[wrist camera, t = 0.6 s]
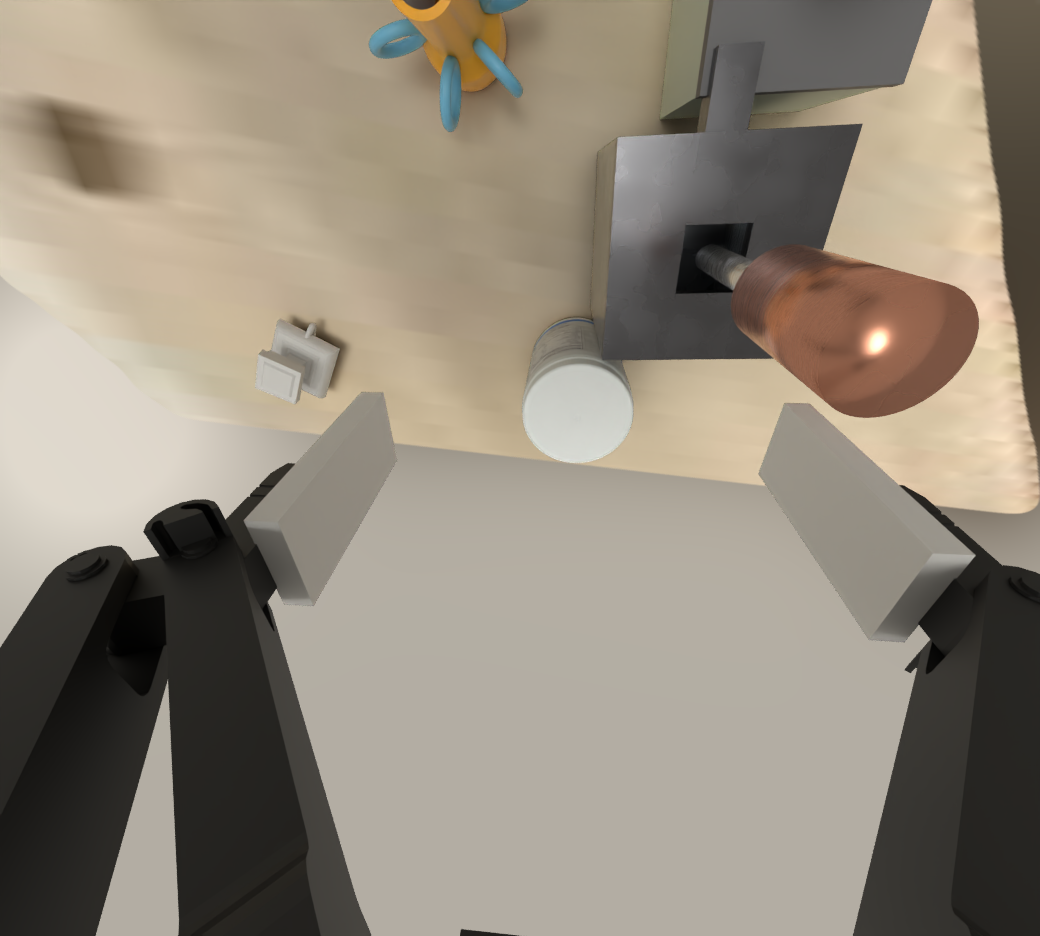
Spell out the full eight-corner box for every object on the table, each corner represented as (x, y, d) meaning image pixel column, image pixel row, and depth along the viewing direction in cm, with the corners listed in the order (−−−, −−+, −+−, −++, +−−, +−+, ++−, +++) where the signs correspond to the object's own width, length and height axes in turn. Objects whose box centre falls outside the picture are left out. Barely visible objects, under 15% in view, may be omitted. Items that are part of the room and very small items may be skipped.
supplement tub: (631, 373, 48) (655, 439, 36) (557, 411, 52) (556, 483, 40) (592, 296, 44) (604, 340, 32) (514, 342, 48) (499, 398, 35)
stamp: (293, 302, 47) (246, 324, 40) (351, 332, 48) (316, 358, 41) (279, 371, 52) (235, 401, 45) (332, 396, 53) (298, 429, 46)
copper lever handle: (682, 223, 27) (847, 283, 12) (747, 221, 27) (1011, 279, 11) (672, 290, 29) (800, 417, 14) (732, 289, 29) (934, 417, 13)
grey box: (600, 93, 35) (624, 41, 22) (765, 83, 34) (894, 22, 21) (590, 306, 45) (602, 360, 32) (719, 304, 44) (788, 358, 30)
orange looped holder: (571, 41, 34) (577, -39, 21) (489, 164, 39) (455, 157, 26) (446, -115, 30) (365, -322, 18) (372, 43, 35) (267, -32, 22)
